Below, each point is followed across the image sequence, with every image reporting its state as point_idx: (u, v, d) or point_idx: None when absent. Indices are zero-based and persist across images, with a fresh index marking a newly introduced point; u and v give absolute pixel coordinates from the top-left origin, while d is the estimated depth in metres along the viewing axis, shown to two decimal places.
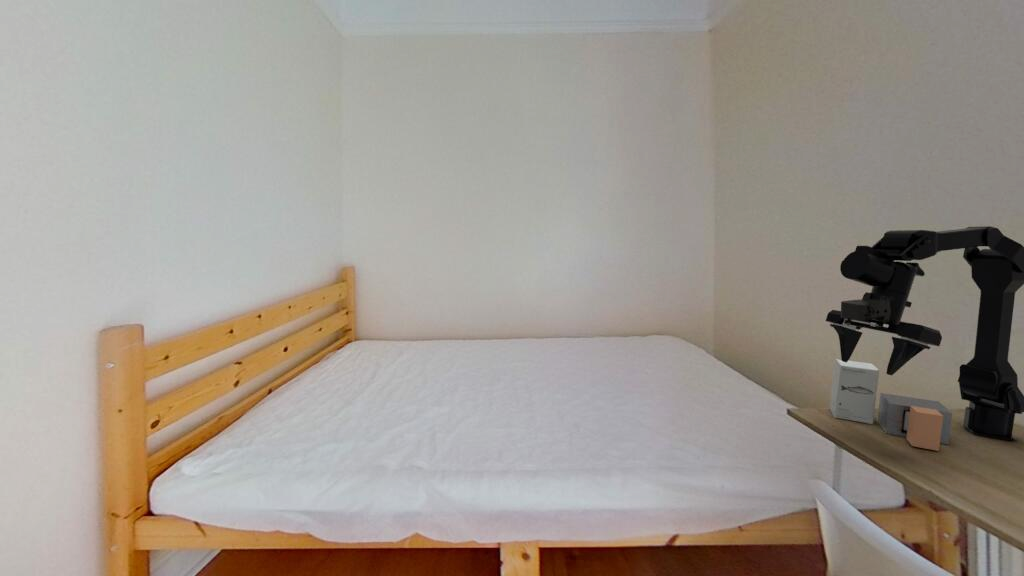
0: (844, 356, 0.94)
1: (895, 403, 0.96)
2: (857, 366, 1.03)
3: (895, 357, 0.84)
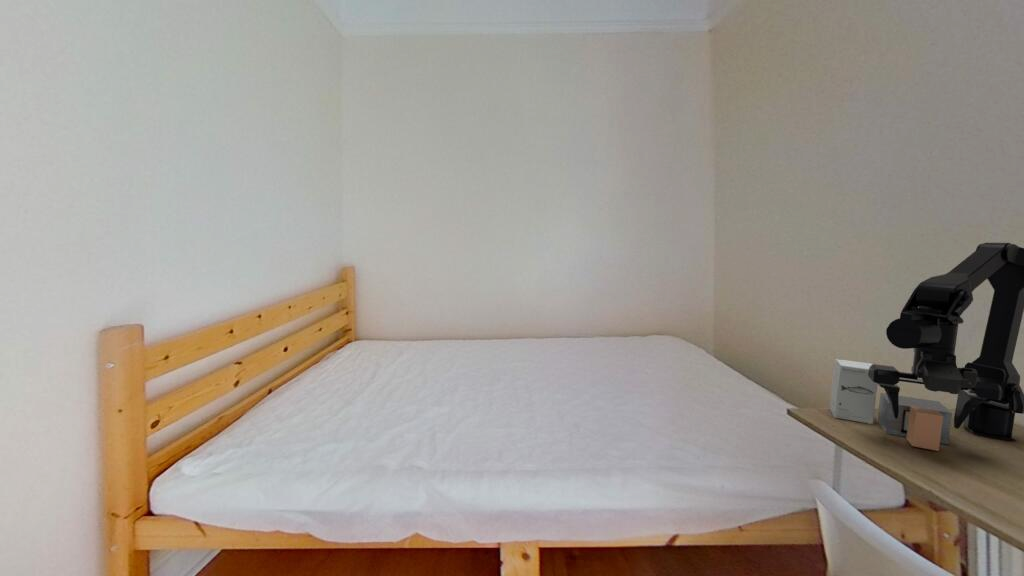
0: (897, 413, 0.92)
1: None
2: (857, 366, 1.03)
3: (967, 413, 0.87)
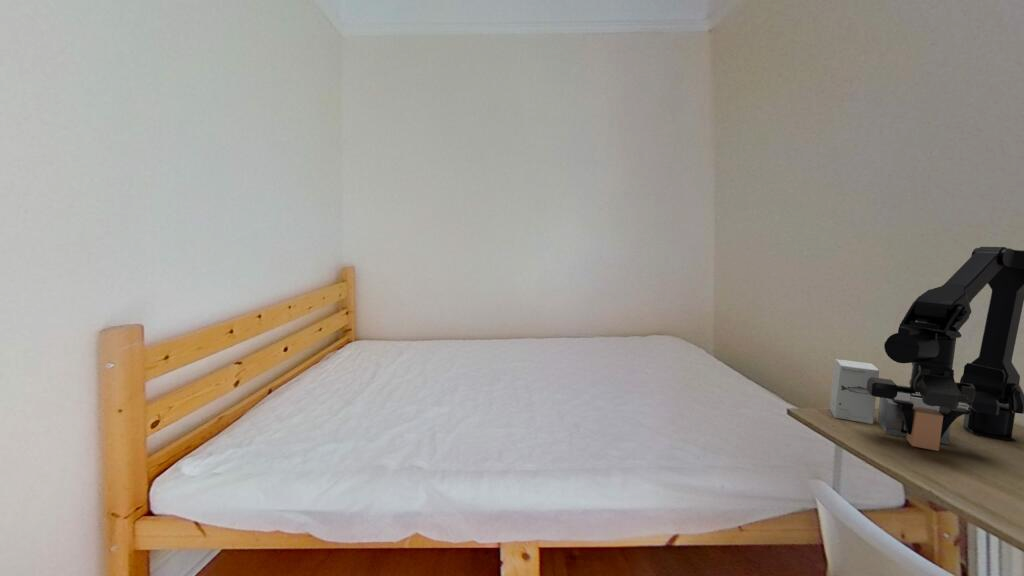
0: (911, 429, 0.91)
1: (895, 403, 0.96)
2: (857, 366, 1.03)
3: (948, 425, 0.88)
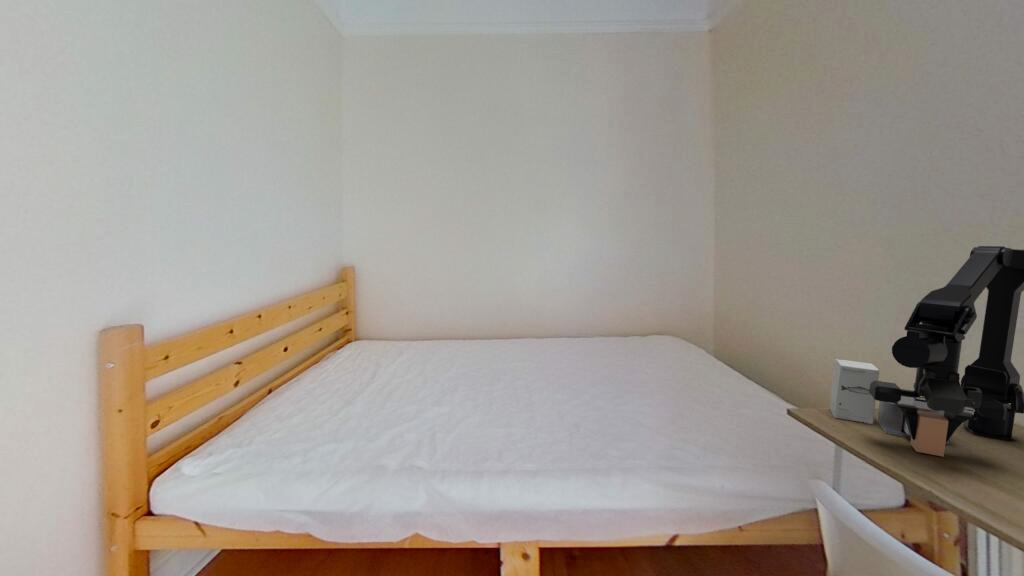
0: (915, 434, 0.89)
1: None
2: (857, 366, 1.03)
3: (953, 430, 0.86)
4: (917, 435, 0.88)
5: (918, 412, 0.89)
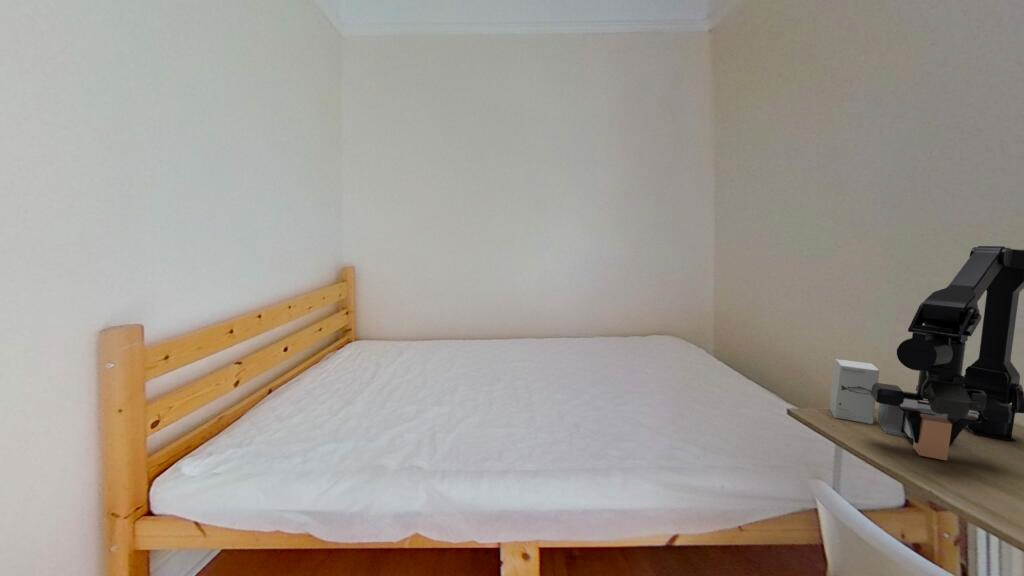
0: (918, 438, 0.87)
1: None
2: (857, 366, 1.03)
3: (957, 433, 0.84)
4: (920, 438, 0.86)
5: (921, 415, 0.88)
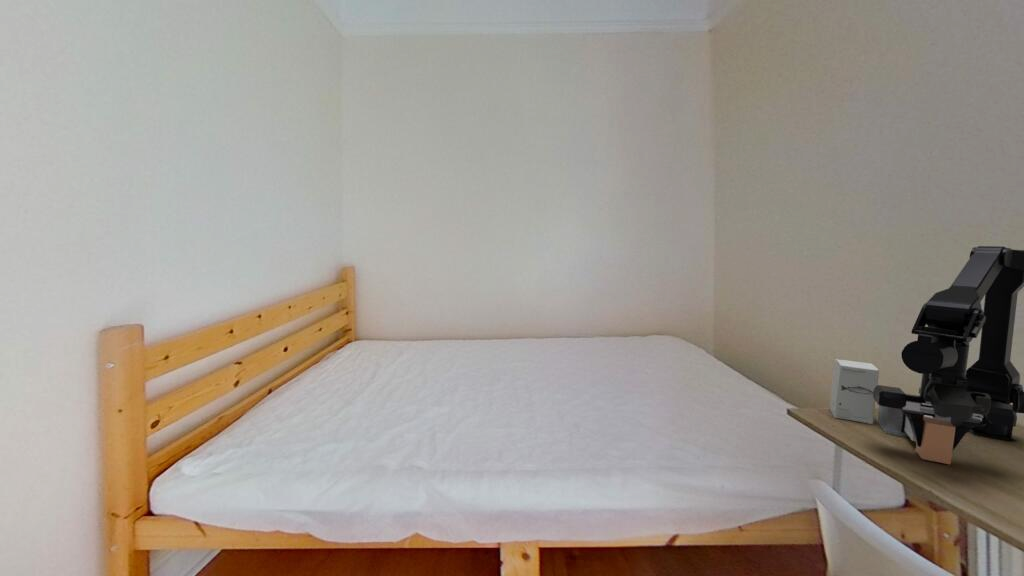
0: (921, 441, 0.86)
1: None
2: (857, 366, 1.03)
3: (961, 437, 0.82)
4: (923, 442, 0.85)
5: (924, 418, 0.86)
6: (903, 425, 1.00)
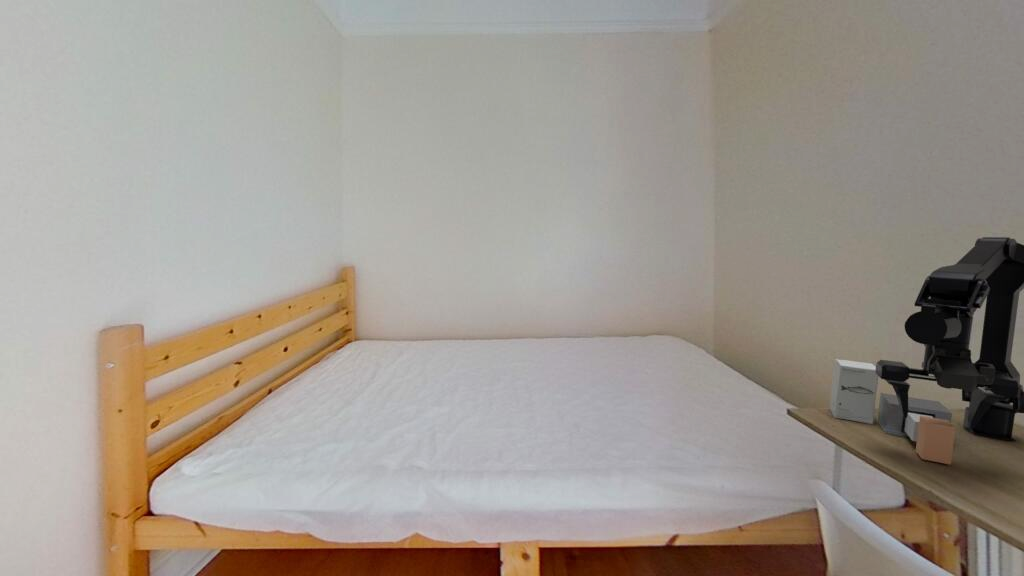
0: (907, 412, 0.86)
1: (895, 403, 0.96)
2: (857, 366, 1.03)
3: (982, 412, 0.81)
4: (923, 442, 0.85)
5: (924, 418, 0.86)
6: (903, 425, 1.00)
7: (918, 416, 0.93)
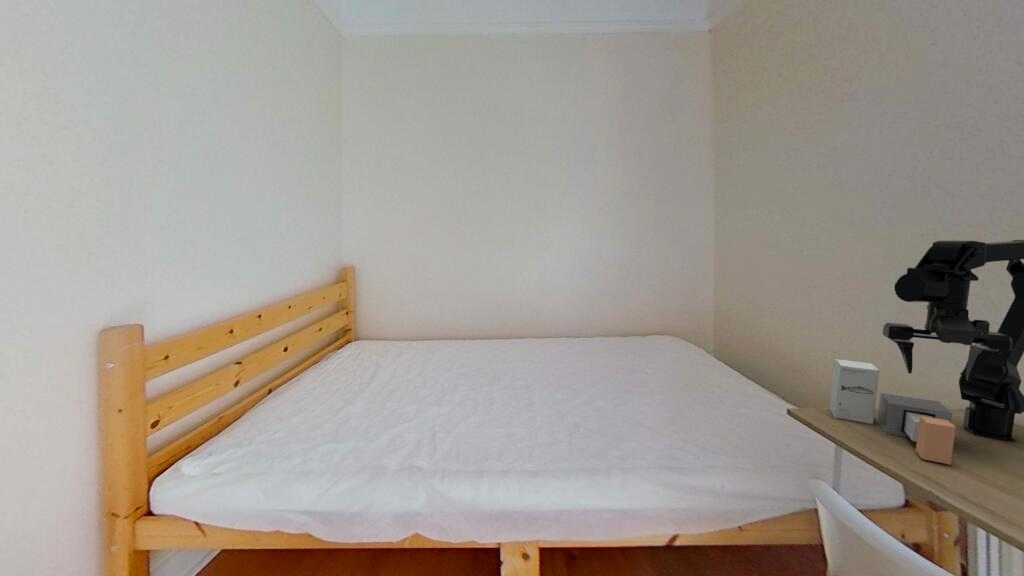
0: (911, 368, 0.96)
1: (895, 403, 0.96)
2: (857, 366, 1.03)
3: (979, 366, 0.90)
4: (923, 442, 0.85)
5: (924, 418, 0.86)
6: (903, 425, 1.00)
7: (918, 416, 0.93)
